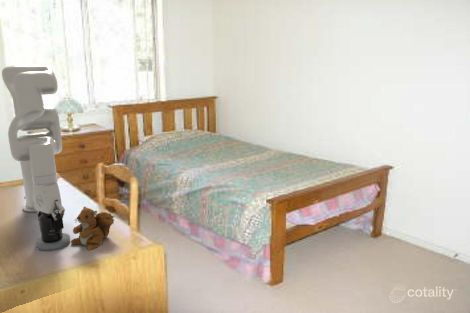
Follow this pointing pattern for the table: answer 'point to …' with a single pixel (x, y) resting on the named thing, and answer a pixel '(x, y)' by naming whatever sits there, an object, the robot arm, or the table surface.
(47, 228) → the supplement bottle
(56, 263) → the table surface
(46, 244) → the slate plate
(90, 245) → the stuffed squirrel
